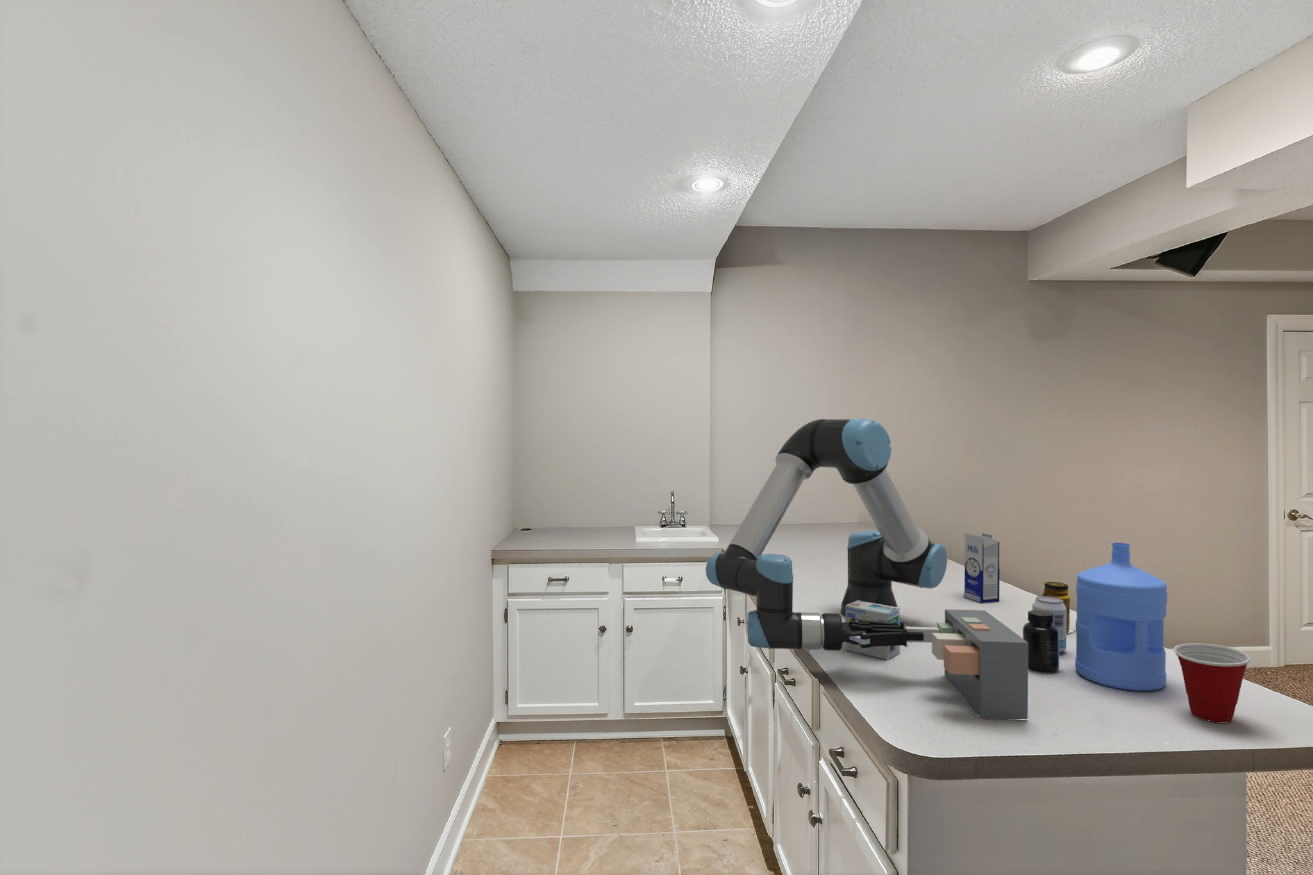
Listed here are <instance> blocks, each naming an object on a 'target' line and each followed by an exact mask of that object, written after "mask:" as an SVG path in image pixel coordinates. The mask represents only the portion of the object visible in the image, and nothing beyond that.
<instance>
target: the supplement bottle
mask: <svg viewBox="0 0 1313 875" xmlns="http://www.w3.org/2000/svg"><path fill="white" fill-rule="evenodd" d="M1027 621H1028V622H1026V623H1025V624H1024V625H1023V627H1022V638H1023V639H1024V640H1025V641H1027V642H1028V670H1030V671H1033V672H1037V673H1047V674H1048V673H1049V674H1051V673H1057V672H1058V671H1059V669H1060V653H1059V631H1058V629H1057V628H1056V627H1055V626H1053V625H1052V624H1053V623H1054V620H1053V614H1052V613H1050V612H1046V611H1039V610H1028V611H1027Z"/></svg>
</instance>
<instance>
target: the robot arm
mask: <svg viewBox="0 0 1313 875" xmlns="http://www.w3.org/2000/svg"><path fill="white" fill-rule="evenodd" d="M890 444H891V438H890V436H889V433H888V431H887V430H886V428H885V426H883V425H882V424H881V423H880V422H878V421H876V420H873V419H867V418H866V419H865V418H861V417H859V418H857V417H856V418H849V419H848V418H843V419H841V418H839V419H838V418H837V419H831V418H828V419H825V418H820V419H814V420H812V421H809V422H808V423H806V424H804V425H802V426H801V427H800V428H798V429H797V430H796V431H795V432H794V433H793V434H791V436H790V437H788V439H787V440H786V441H785V443H784V444H783V445H782V447H781V448H780V450H779V451H778V453H777V454H776V456H775V459H774V460H775V464H776V465H775V466H774V468H773V469H772V472H771V473H770V474H769V476H768V477H767V480H766V481H765V483H764V484H763V487H762V488H761V490H760V491H759V493H758V495H757V496H756V499H755V500H754V502H753V503H752V506H751V507H750V508H749V510H748V512H747V514H746V515H745V517H744V518H743V520H742V522H741V524H740V525H739V527H738V529H737V530H736V531H735V532H736V533H735V534H734V535H733V537H732V538H731V540H730V541H729V544H728V546H727V547H726V549H725V551H724V552H720V553H719V552H717V553H716V552H715V553H714V554H713V555H711V556H710V557H709V558H708V559H707V562H706V566H705V575H706V578H707V580H708V582H709V583H711V584H712V585H714V586H716V587H718V588H722V589H723V590H730V591H734V592H737V593H742V594H744V595H748V596H753V597H756V609H755V610H750V611H748V612H747V643H748V645H749V646H751V647H753V648H762V649H768V650H771V649H776V650H781V649H783V650H804V651H805V652H807V653H809V652H810V651H811V650H817V651H819V650H821V648H822V649H823V650H824V651H835V652H838V651H841V650H842V648H843V644H844V643H846V642H848V643H851V644H853V645H859V644H860V647H861V648H868V647H879V646H900V647H901V646H904V647H907V646H908V643H931V644H932V633H939V629H938V628H937V627H929V626H925V627H924V626H905V623H904V622H902V621H900V626H899V624H898V623H889V622H879V621H868V620H860V619H855V618H851V621H849V622H846V621H842V620H843V619H842V617H841V615H840V614H839V613H831V612H823V613H822V614H820V612H805V611H803V612H800V611H799V612H796V611H795V612H794V611H793V607H794V606H793V604H794V602H793V600H794V599H793V597H794V596H793V594H794V589H793V588H794V586H793V585H794V574H793V561H792V559H791V557H789V556H787V555H785V554H780V553H779V554H778V553H776V554H775V553H765V554H763V553H764V550H766V547H767V546H768V543H769V542H770V540H771V539H772V537H773V535H774V533H775V532H776V529H777V528H778V526H779V524H780V523H781V521H782V519H783V518H784V516H785V513H786V512H787V510H788V509H789V507H790V505H791V504H792V502H793V500H794V498H795V496H796V495H797V493H798V491H799V489H800V487H801V485H802V484H803V482H804V480H809V479H810V478H811V476H812V475H813V473H814V472H815V471H816V470H818V468H822V467H824V468H834V469H836V470H837V472H838V473H839V475H840V477H841V478H842V480H843V481H844V482H845V483H847V484H849V485H853V487H854V489H855V490H856V493H857V494H858V497H859V498H860V500H861V502H862V504H863V505H864V507H865V509H866V510H867V512H868V515H869V516H870V518H871V520H872V521H873V524H874V525H875V527H876V529H877V530H866V531H865V530H863V531H856V532H853V533H851V534H850V535H849V536H848V539H847V541H848V542H847V548H846V550H847V587H846V589H845V592H844V595H843V598H842V601H841V605H840V606H841V607H840V612H841V614H842V615H843V616H845V617H846V605H847V604H850V603H852V602H855V601H857V600H859V601H863V602H869V603H875V604H881V605H886V606H892V607H898V604H897V601H896V598H895V595H894V591H893V586H892V582H893V583H898V584H903V585H908V586H912V587H917V588H919V589H923V588H924V589H935V588H937V587H938V586H939V585H940V583H942V581H943V578H944V577H945V575H946V570H947V565H948V554H947V549H946V547H945V546H944V545H943V544H940V543H936V542H935V543H933V542H931V539H930V538H929V536H928V534H927V532H925V531H924V530H923V529H921V528H920V527H917V526H916V525H915V523H914V522H915V521H914V520H913V519H912V516H911V515H910V512H909V510H908V509H907V507H906V505H905V503H904V501H903V499H902V497H901V496H900V493H899V492H898V490H897V487H896V485H895V484H894V482H893V480H892V478H891V476H890V473H889V472H888V469H887V468H888V465H889V462H890V459H891V455H892V447H891V446H890Z"/></svg>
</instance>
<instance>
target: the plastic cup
mask: <svg viewBox="0 0 1313 875" xmlns="http://www.w3.org/2000/svg"><path fill="white" fill-rule="evenodd" d="M1172 649H1173V651H1174V653H1175V655H1176V656H1177V659H1178V661H1179V665H1180V667H1181V673H1182V676H1183V677H1182V678H1183V682H1184V688H1185V693H1186V695H1187V699H1188V707H1189V710H1190V713H1191V712H1192V713H1191V715H1192V714H1193V715H1192V716H1194V715H1195V716H1196V718H1197V717H1199V718H1198V719H1200V718H1201V719H1200V720H1202V719H1205V720H1204V721H1206V720H1210V721H1214V722H1213V723H1215V722H1230V721H1231V720H1232V721H1233V718H1234V715H1235V712H1236V706H1237V704H1238V702H1239V697H1240V692H1241V687H1242V684H1243V680H1244V675H1245V672H1246V670H1247V666H1248V664H1249V663H1250V661H1251V660H1252V658H1251V657H1250V656H1249V654H1248V653H1246V652H1244V651H1242V650H1239V649H1236V648H1233V647H1229V646H1226V645H1220V644H1219V645H1218V644H1214V643H1213V644H1212V643H1200V642H1195V643H1194V642H1190V643H1188V642H1187V643H1182V644H1177V645H1175V646H1174V647H1173V648H1172ZM1195 716H1194V717H1195ZM1232 721H1231V722H1232ZM1231 722H1230V723H1231Z"/></svg>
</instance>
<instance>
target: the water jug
mask: <svg viewBox="0 0 1313 875" xmlns="http://www.w3.org/2000/svg"><path fill="white" fill-rule="evenodd" d="M1111 546H1112V550H1111V561H1110V562H1108V563H1105V564H1102V565H1100V566H1096V567H1093V568H1089V569H1086V570H1083V571H1080V572H1079V573H1077V576H1076V579H1077V580H1076V587H1075V591H1076V592H1075V593H1076V620H1075V631H1076V632H1075V633H1076V635H1075V637H1076V640H1075V641H1076V647H1075V648H1076V649H1075V655H1076V656H1075V658H1074V662H1075V664H1074V666H1075V670H1076V672H1077V673H1078V674H1080V675H1081V676H1082V677H1083V678H1085V679H1087V680H1089V681H1091V682H1093V683H1096V684H1099V685H1103V686H1106V687H1110V688H1114V689H1119V690H1125V691H1126V690H1127V691H1133V692H1134V691H1136V692H1151V691H1158V690H1160V689H1162V688H1164V686H1166V684H1167V672H1166V660H1167V658H1166V656H1167V653H1166V652H1167V651H1166V650H1165V645H1164V624H1165V622H1164V619H1165V618H1166V617H1167V605H1168V591H1167V588H1168V587H1167V583H1166V581H1164V580H1162V579H1160V578H1159V577H1156V576H1154V575H1152V574H1151V573H1149V572H1146V571H1145V570H1143V569H1140V568H1139V567H1136V566H1135V565H1132V563H1131V562H1130V558H1131V557H1130V556H1131V552H1130V547H1131V544H1130V543H1125V542H1124V543H1123V542H1111Z"/></svg>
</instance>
